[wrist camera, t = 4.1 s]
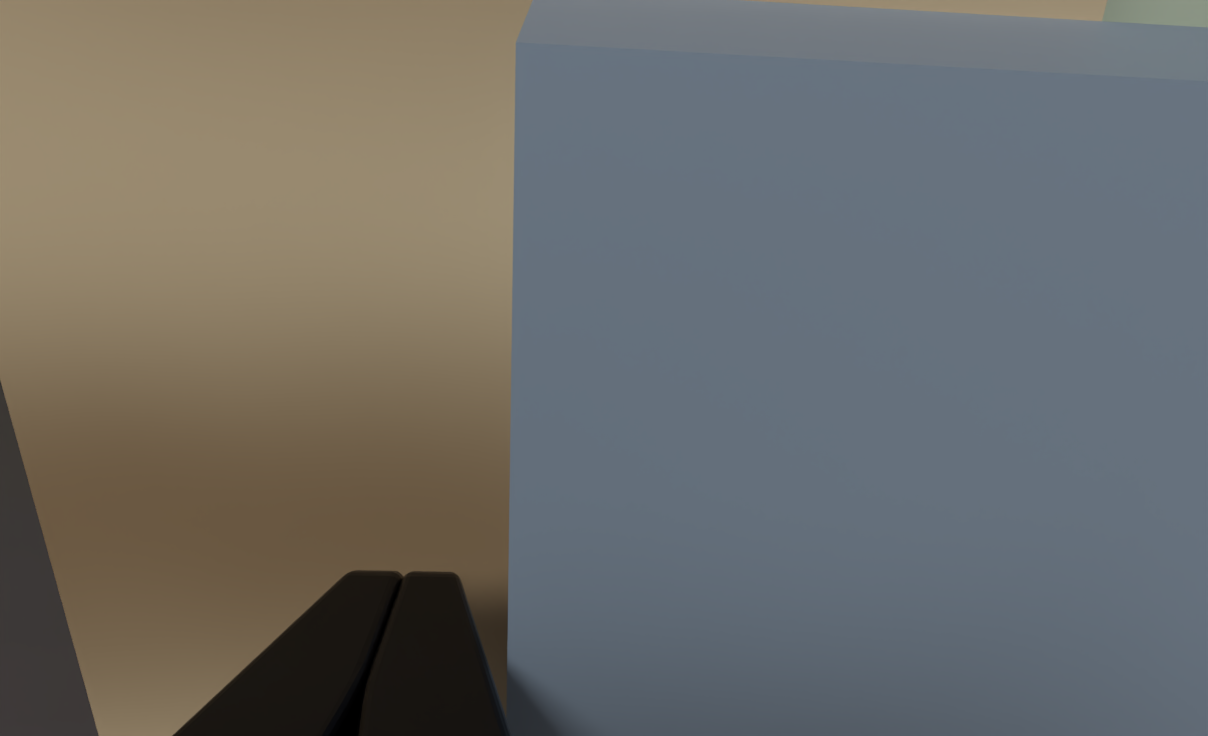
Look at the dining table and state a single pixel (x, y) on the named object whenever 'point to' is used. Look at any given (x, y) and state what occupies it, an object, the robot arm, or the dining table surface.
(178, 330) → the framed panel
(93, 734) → the dining table surface
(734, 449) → the slate blue board
